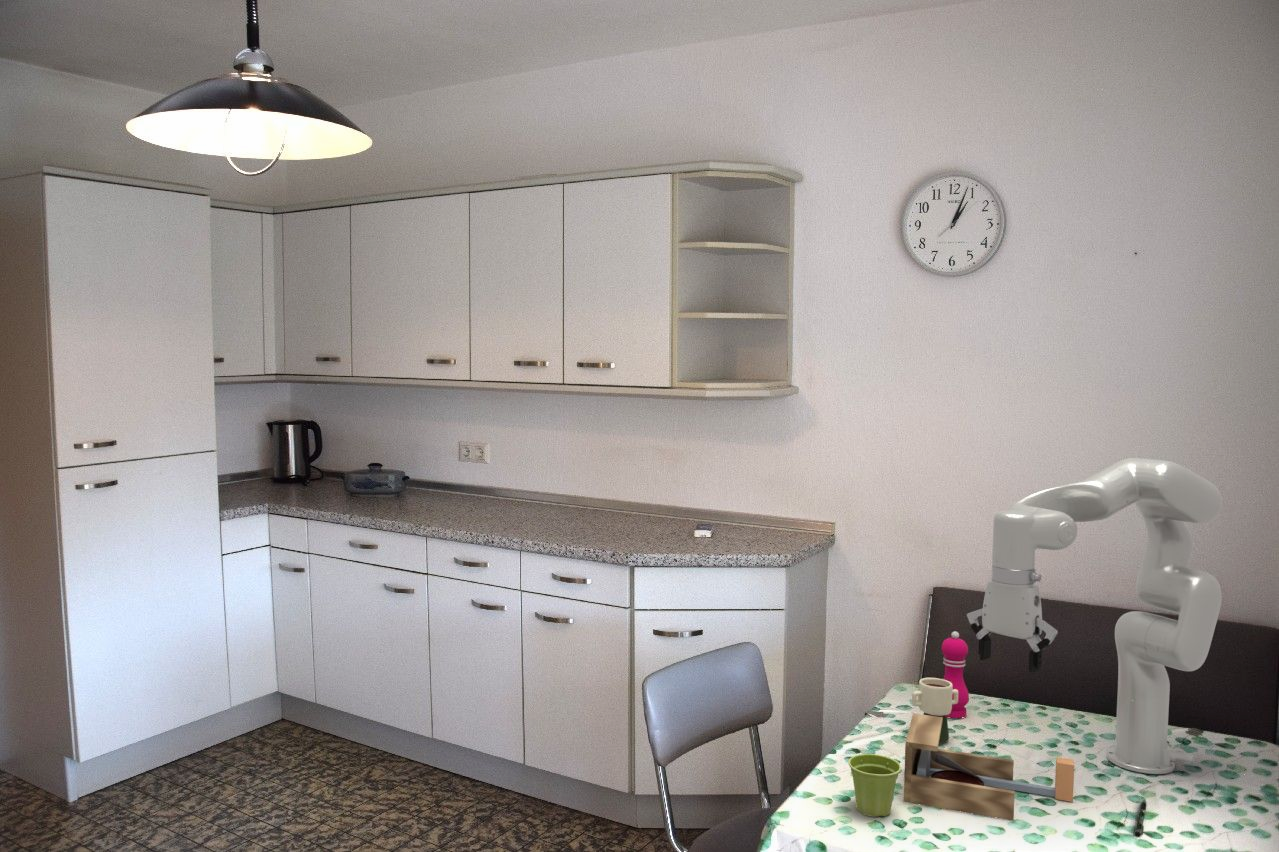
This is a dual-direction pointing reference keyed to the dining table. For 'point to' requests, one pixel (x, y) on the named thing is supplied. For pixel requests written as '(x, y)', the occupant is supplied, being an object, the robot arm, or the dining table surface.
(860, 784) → the plant pot
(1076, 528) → the robot arm
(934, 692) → the character mug
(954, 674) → the pepper mill
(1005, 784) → the pull rod
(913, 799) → the shelf lane
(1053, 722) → the dining table surface
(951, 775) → the canned food
